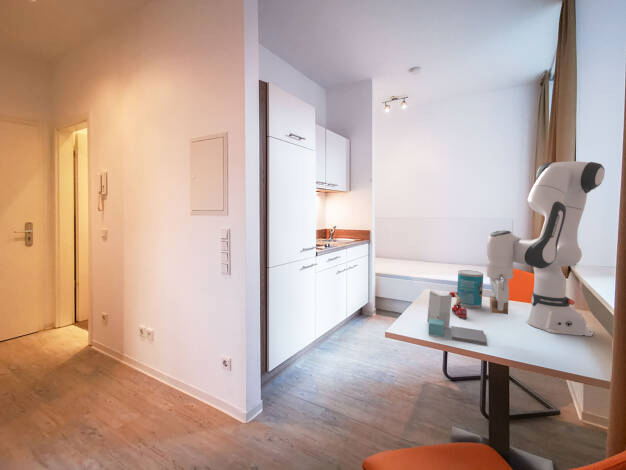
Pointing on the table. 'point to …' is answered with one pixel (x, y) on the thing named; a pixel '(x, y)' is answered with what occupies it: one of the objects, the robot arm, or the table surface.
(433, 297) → the skincare box
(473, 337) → the baseplate
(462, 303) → the food can
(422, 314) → the table surface
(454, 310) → the toy fire truck
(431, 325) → the teal block
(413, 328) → the table surface
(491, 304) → the walnut brick
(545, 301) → the robot arm
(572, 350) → the table surface
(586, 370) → the table surface
